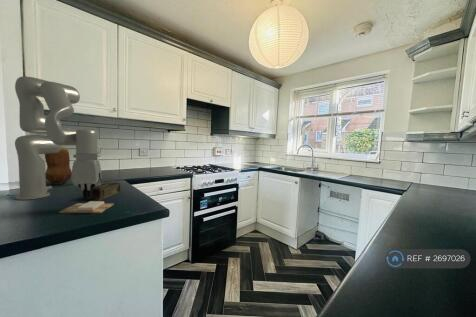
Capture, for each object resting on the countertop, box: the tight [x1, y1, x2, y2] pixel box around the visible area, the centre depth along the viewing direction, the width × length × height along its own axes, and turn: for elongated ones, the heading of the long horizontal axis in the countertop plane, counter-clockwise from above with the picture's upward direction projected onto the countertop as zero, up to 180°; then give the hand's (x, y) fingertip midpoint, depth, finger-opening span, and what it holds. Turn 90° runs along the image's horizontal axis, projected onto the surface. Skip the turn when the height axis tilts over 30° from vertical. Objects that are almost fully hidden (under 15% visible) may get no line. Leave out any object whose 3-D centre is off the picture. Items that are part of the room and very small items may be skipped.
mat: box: [58, 202, 115, 214], centre depth 90 cm, size 12×16×1 cm
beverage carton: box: [84, 181, 121, 202], centre depth 111 cm, size 8×19×7 cm, turn 1°
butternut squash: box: [44, 146, 72, 185], centre depth 133 cm, size 14×13×25 cm
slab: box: [77, 200, 105, 212], centre depth 88 cm, size 9×2×6 cm
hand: (87, 198), depth 90 cm, fingers closed
